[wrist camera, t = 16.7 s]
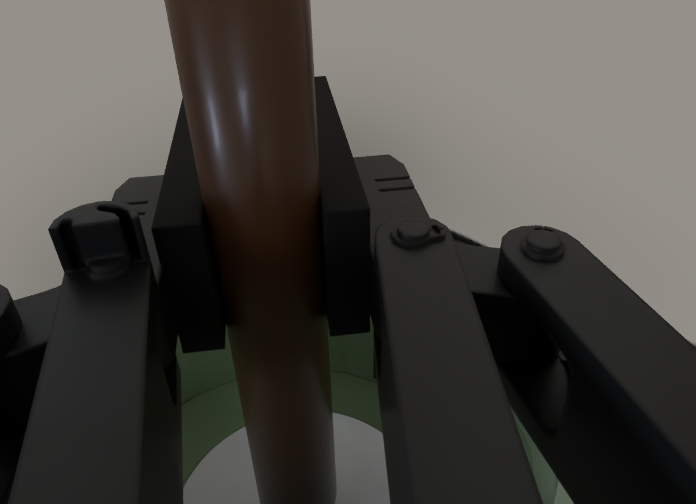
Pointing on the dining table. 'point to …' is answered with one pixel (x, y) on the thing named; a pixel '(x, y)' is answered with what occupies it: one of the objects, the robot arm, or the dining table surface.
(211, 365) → the bowl
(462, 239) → the dining table surface
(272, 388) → the wooden peg on disc
